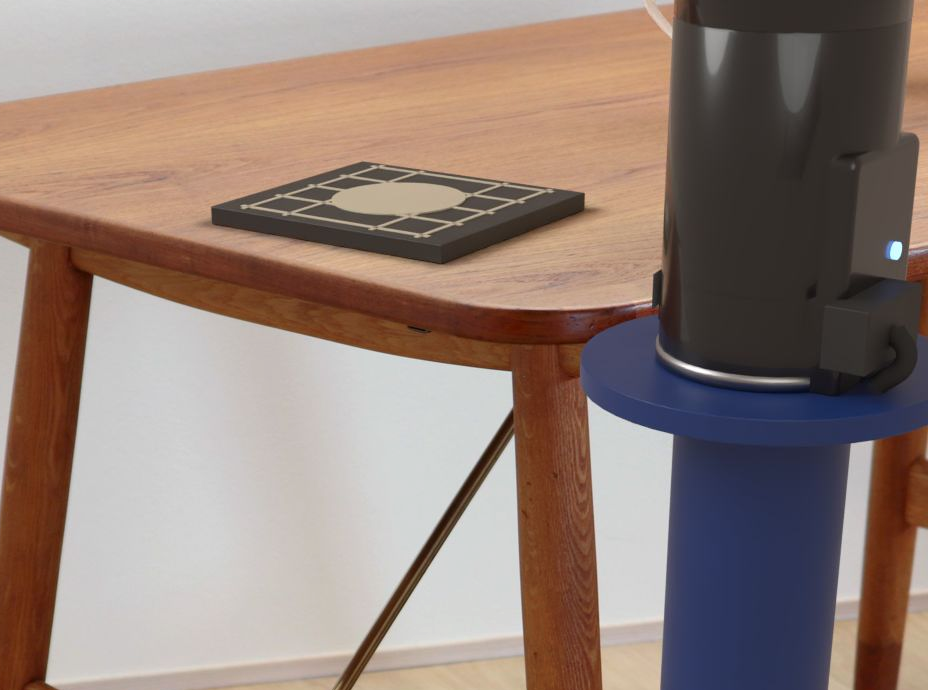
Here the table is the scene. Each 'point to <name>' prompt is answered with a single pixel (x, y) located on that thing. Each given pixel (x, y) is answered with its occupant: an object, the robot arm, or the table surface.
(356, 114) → the table surface
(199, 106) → the table surface
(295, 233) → the board
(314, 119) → the table surface
